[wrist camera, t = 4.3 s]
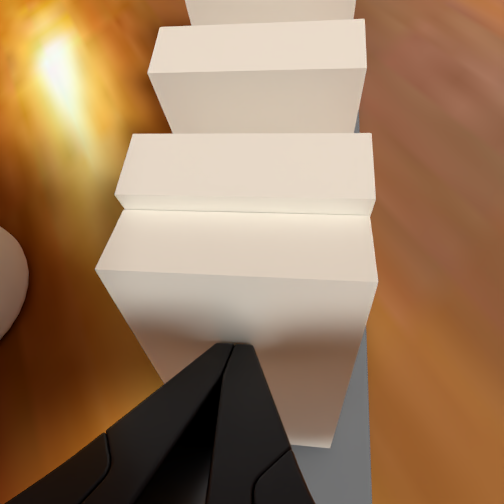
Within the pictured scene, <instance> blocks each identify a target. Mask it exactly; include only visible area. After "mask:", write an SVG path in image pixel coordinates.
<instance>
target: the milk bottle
mask: <svg viewBox="0 0 504 504" xmlns="http://www.w3.org/2000/svg"><path fill="white" fill-rule="evenodd" d="M28 278H29V270H28V265H27V260H26V257H25V255H24V252H23V250H22V248H21V246H20V244H19V243H18V241H17V240H16V239H15V238H14V237H13V236H12V235H11V234H10V233H9V232H7V231H6V230H5V229H3V228H2V227H1V226H0V339H1V338H2V337H3V336H4V334H5V333H6V332H7V331H8V330H9V329H10V327H11V326H12V324H13V322H14V321H15V319H16V318H17V316H18V315H19V313H20V310H21V308H22V305H23V303H24V301H25V298H26V293H27V289H28Z"/></svg>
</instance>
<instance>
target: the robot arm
mask: <svg viewBox="0 0 504 504" xmlns="http://www.w3.org/2000/svg"><path fill="white" fill-rule="evenodd" d="M5 504H316V503H315V501H314V499H313V497H312V495H311V494H310V491H309V489H308V487H307V484H306V482H305V480H304V477H303V475H302V472H301V470H300V468H299V465H298V462H297V460H296V457H295V454H294V452H293V451H292V447H291V444H290V442H289V439H288V436H287V434H286V431H285V428H284V426H283V423H282V421H281V418H280V415H279V413H278V410H277V407H276V405H275V402H274V399H273V397H272V394H271V391H270V389H269V386H268V383H267V381H266V378H265V375H264V373H263V370H262V367H261V365H260V362H259V359H258V357H257V354H256V351H255V349H254V347H253V345H251V344H236V345H235V346H234V344H232V343H216V344H214V345H213V346H212V347H210V348H209V349H208V350H207V351H205V352H204V353H203V354H202V355H200V356H199V357H198V358H196V359H195V360H194V361H193V362H191V363H190V364H189V365H188V366H186V367H185V368H184V369H183V370H181V371H180V372H179V373H178V374H176V375H175V376H174V377H173V378H171V379H170V380H169V381H168V382H166V383H165V384H164V385H162V386H161V387H160V388H159V389H157V390H156V391H155V392H154V393H152V394H151V395H150V396H149V397H147V398H146V399H145V400H144V401H142V402H141V403H140V404H139V405H137V406H136V407H135V408H134V409H132V410H131V411H130V412H129V413H127V414H126V415H125V416H123V417H122V418H121V419H120V420H118V421H117V422H116V423H115V424H113V425H112V426H111V427H110V428H108V429H107V430H106V433H102V434H101V435H99V436H98V437H97V438H96V439H94V440H93V441H92V442H91V443H89V444H88V445H87V446H85V447H84V448H83V449H81V450H80V451H79V452H78V453H76V454H75V455H74V456H72V457H71V458H70V459H68V460H67V461H66V462H64V463H63V464H62V465H60V466H59V467H57V468H56V469H55V470H53V471H52V472H50V473H49V474H47V475H46V476H45V477H43V478H42V479H40V480H39V481H37V482H36V483H35V484H33V485H32V486H30V487H29V488H27V489H26V490H24V491H23V492H21V493H20V494H18V495H17V496H15V497H14V498H12V499H11V500H9V501H8V502H6V503H5Z"/></svg>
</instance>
